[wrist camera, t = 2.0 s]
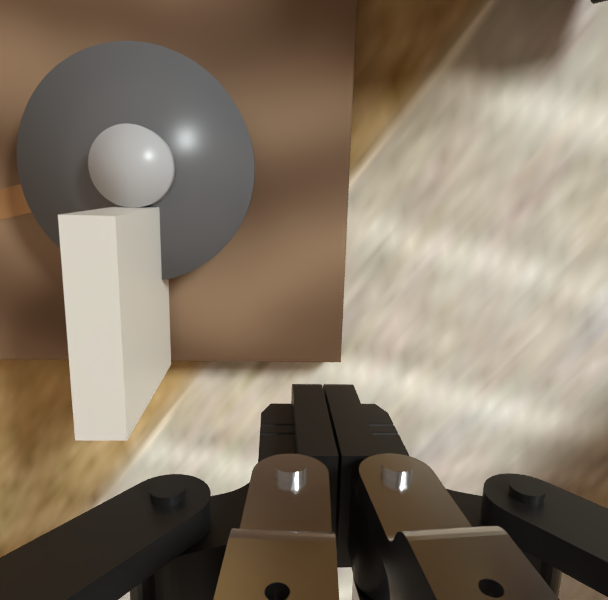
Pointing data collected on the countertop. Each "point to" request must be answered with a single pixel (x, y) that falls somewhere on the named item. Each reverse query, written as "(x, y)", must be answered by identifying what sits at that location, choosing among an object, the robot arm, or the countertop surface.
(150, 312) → the dial
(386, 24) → the countertop surface
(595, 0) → the tool
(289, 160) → the dial plate
